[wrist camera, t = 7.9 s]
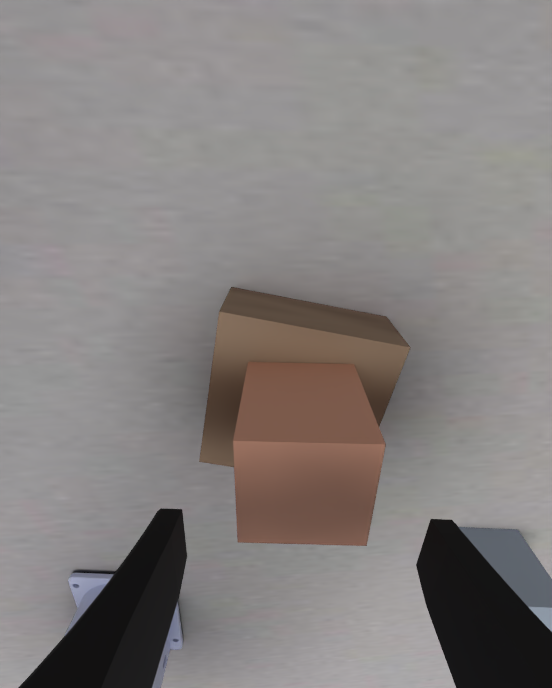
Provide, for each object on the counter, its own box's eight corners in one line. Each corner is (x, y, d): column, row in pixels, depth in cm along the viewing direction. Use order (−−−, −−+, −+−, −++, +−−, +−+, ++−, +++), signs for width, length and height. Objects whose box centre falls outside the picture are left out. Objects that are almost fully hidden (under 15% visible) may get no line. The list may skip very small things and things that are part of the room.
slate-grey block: (497, 570, 26) (542, 651, 22) (437, 567, 26) (470, 648, 22) (517, 528, 24) (571, 608, 20) (452, 526, 24) (492, 605, 20)
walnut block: (343, 435, 21) (355, 486, 18) (213, 413, 21) (199, 461, 17) (384, 314, 18) (410, 347, 14) (232, 285, 18) (219, 311, 14)
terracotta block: (343, 446, 17) (366, 546, 12) (249, 444, 17) (237, 542, 12) (353, 364, 15) (385, 444, 10) (248, 361, 15) (233, 440, 10)
